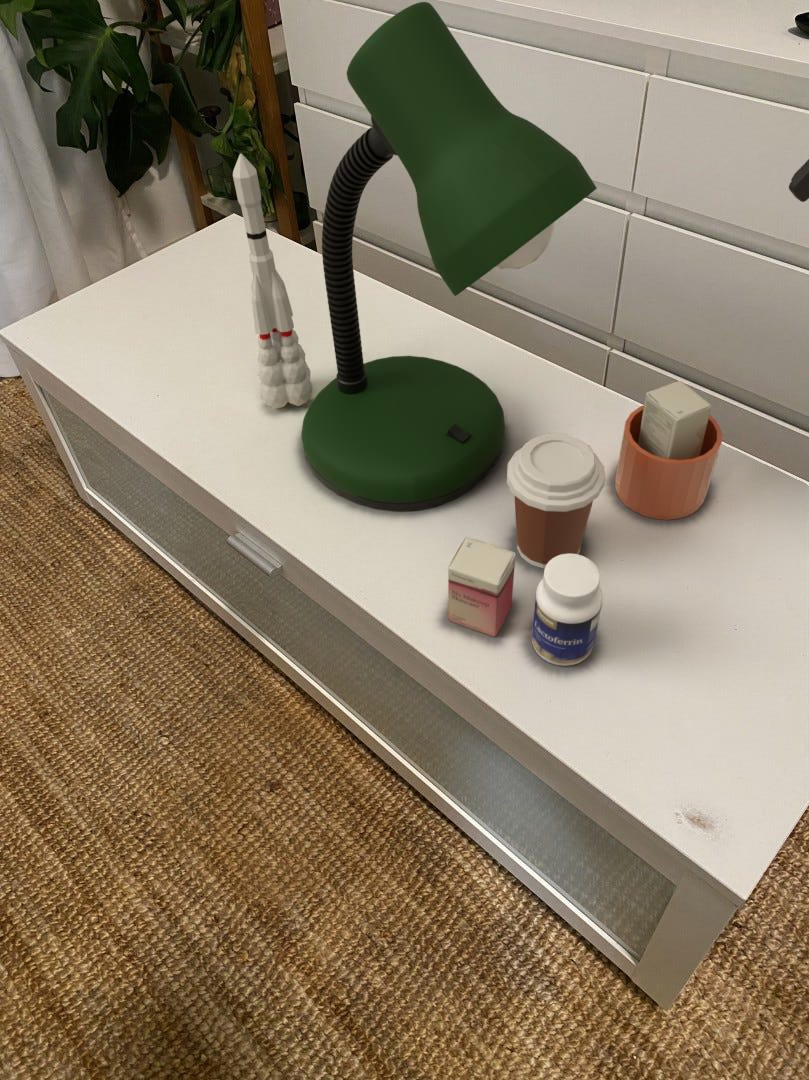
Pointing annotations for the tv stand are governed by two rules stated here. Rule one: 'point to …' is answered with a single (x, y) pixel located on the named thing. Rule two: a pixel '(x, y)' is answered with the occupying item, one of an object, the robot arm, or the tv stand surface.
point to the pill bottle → (567, 610)
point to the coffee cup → (553, 495)
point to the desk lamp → (457, 253)
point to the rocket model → (270, 305)
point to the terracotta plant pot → (664, 474)
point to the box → (674, 422)
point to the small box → (480, 586)
